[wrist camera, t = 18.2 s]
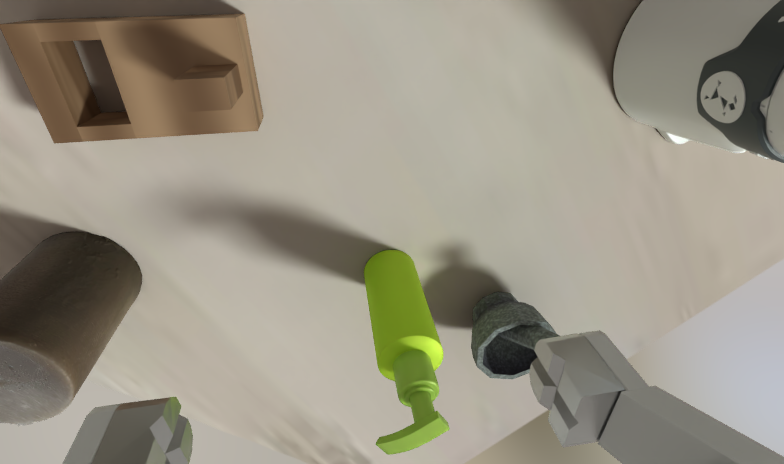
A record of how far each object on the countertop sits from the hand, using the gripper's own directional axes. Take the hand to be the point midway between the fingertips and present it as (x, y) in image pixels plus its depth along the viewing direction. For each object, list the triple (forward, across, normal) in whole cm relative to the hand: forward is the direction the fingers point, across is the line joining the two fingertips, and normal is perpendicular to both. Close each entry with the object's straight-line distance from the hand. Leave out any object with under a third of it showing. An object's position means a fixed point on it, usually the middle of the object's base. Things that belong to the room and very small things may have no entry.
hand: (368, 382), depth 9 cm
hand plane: (+31, +13, -1) cm, 34 cm away
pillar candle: (+31, +26, +17) cm, 44 cm away
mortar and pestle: (+30, -19, +29) cm, 46 cm away
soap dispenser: (+31, -5, +21) cm, 38 cm away
